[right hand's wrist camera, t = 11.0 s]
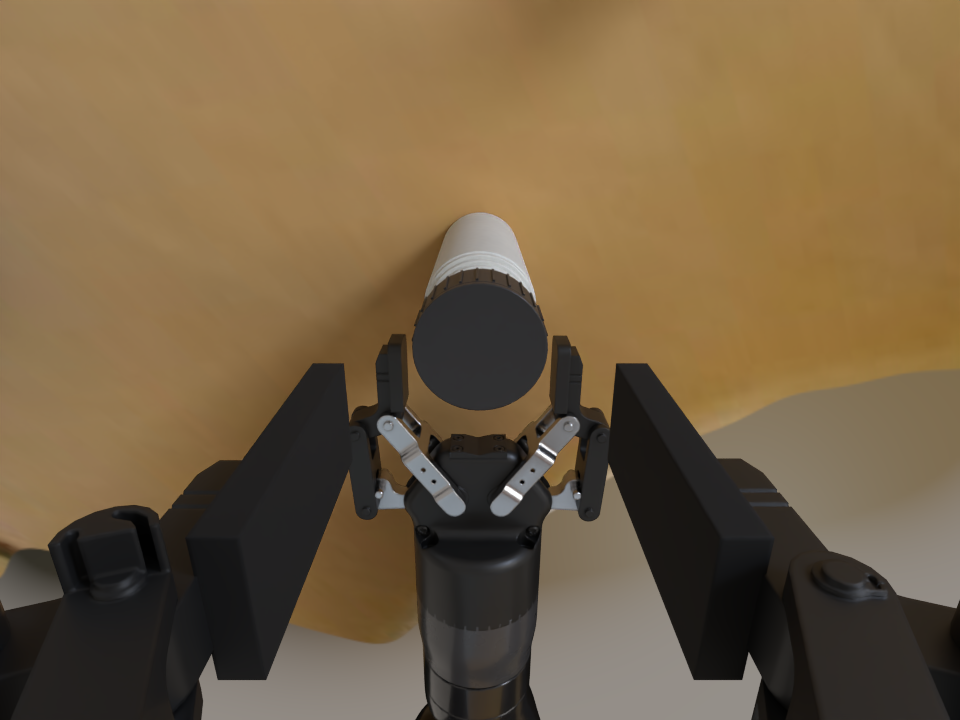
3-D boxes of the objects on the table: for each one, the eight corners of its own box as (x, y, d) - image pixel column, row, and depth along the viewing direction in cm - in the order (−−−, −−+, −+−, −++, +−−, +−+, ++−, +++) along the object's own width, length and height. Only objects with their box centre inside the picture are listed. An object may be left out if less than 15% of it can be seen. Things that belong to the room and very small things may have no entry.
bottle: (530, 232, 34) (573, 314, 19) (497, 299, 36) (510, 426, 20) (461, 198, 34) (445, 254, 18) (430, 268, 35) (390, 375, 19)
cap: (564, 299, 20) (574, 318, 18) (508, 403, 22) (510, 431, 20) (448, 245, 20) (444, 257, 18) (398, 356, 21) (389, 380, 19)
